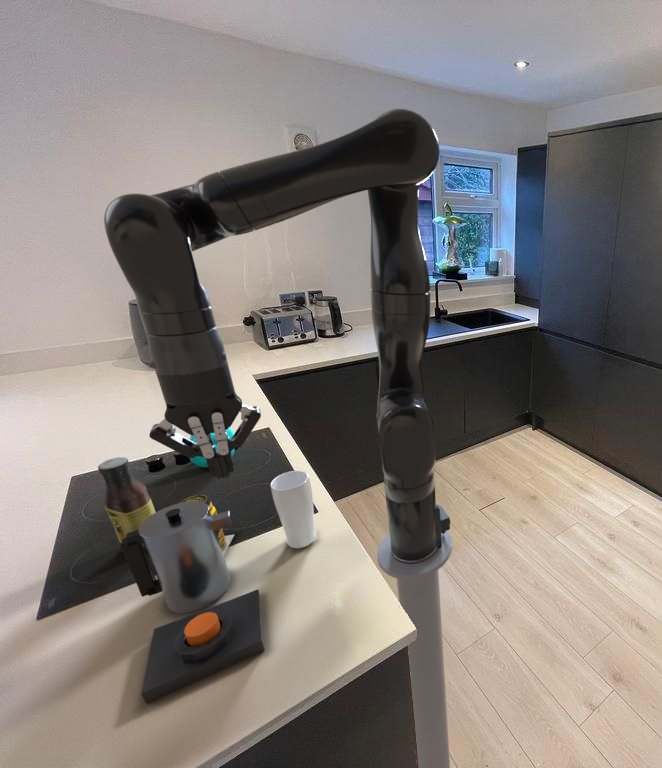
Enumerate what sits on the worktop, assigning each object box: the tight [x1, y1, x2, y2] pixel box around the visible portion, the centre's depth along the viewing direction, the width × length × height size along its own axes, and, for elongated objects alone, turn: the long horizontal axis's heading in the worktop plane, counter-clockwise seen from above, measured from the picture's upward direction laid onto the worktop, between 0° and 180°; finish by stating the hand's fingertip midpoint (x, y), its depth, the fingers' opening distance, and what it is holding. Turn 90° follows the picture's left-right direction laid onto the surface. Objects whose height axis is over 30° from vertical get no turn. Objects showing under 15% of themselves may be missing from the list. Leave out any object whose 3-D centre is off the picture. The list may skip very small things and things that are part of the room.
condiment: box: [179, 494, 235, 555], centre depth 77 cm, size 7×8×12 cm
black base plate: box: [140, 589, 266, 705], centre depth 61 cm, size 14×11×4 cm
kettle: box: [119, 501, 233, 614], centre depth 68 cm, size 14×9×17 cm, turn 123°
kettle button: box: [184, 612, 221, 646], centre depth 60 cm, size 4×4×2 cm
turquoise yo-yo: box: [189, 427, 236, 468], centre depth 109 cm, size 10×10×10 cm
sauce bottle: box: [97, 456, 157, 553], centre depth 77 cm, size 6×6×20 cm
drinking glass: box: [269, 470, 317, 549], centre depth 80 cm, size 7×7×15 cm
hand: (223, 475), depth 58 cm, fingers closed
